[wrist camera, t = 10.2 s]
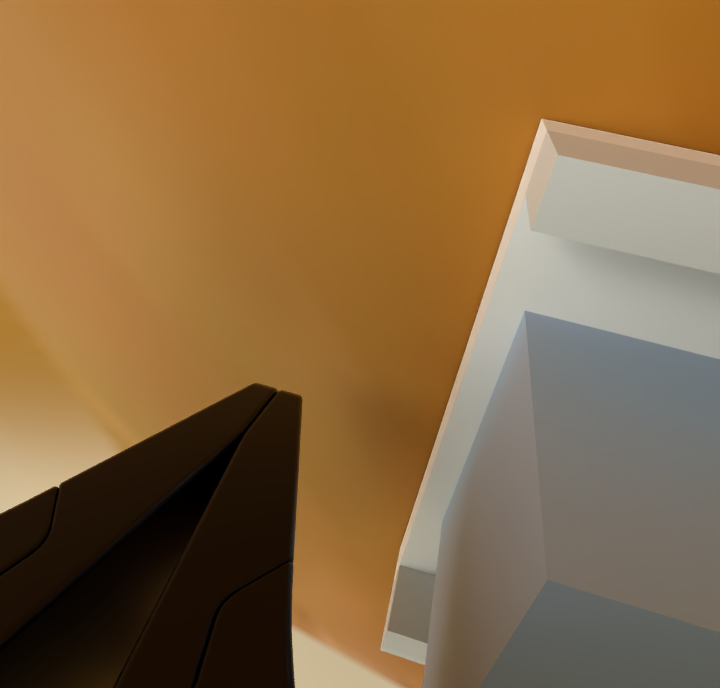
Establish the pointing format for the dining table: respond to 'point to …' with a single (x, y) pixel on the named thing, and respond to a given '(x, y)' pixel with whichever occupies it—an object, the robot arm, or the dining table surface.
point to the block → (585, 521)
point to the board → (572, 300)
